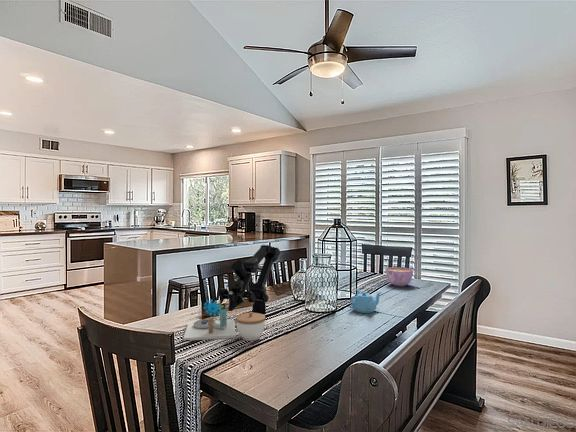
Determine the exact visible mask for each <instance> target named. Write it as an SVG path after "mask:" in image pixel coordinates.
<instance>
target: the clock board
mask: <svg viewBox="0 0 576 432" xmlns="http://www.w3.org/2000/svg"><path fill="white" fill-rule="evenodd" d="M207 320H208V326H209V328H205V329H199V328H195V327H194V323H195V322H196V321H188V323H187V326H186V329H185V332H184V335H183V339H182V340H183V341H184V342H187V341H186V340H190V341H201V340H202V341H203V340H204V341H205V340H219V339H221V340H222V339H235V338H236V319H227V328H225V329H219V328H213V320H214V319H213V318H212V317H211V318H208V319H207ZM214 321H215V322H216V324H220V319H219V320H214Z"/></svg>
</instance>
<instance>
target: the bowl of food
mask: <svg viewBox="0 0 576 432" xmlns="http://www.w3.org/2000/svg"><path fill="white" fill-rule="evenodd" d="M384 271H385V276H386V279H387V282H389V284H391V285H393V286H394V287H405V286H406V285H409V284H410V283H411V281H412V278H413V274H414V269H413V268H411V267H410V268H409V267H402V266H400V267H399V266H395V267H394V266H391V267H389V266H388V267H386V268H384Z"/></svg>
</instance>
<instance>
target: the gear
mask: <svg viewBox="0 0 576 432" xmlns="http://www.w3.org/2000/svg"><path fill="white" fill-rule="evenodd" d="M213 301H214V302H213ZM221 308H225V306H224V305H221V303H220V302H218V301H217V300H216V299H215V300H213V299H210V300H205V302H204V304H203V310H205V311H204V312H205V314H208V316H210V317H211V316H212V317H214V316H215V317H216V316H220V309H221Z"/></svg>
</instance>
